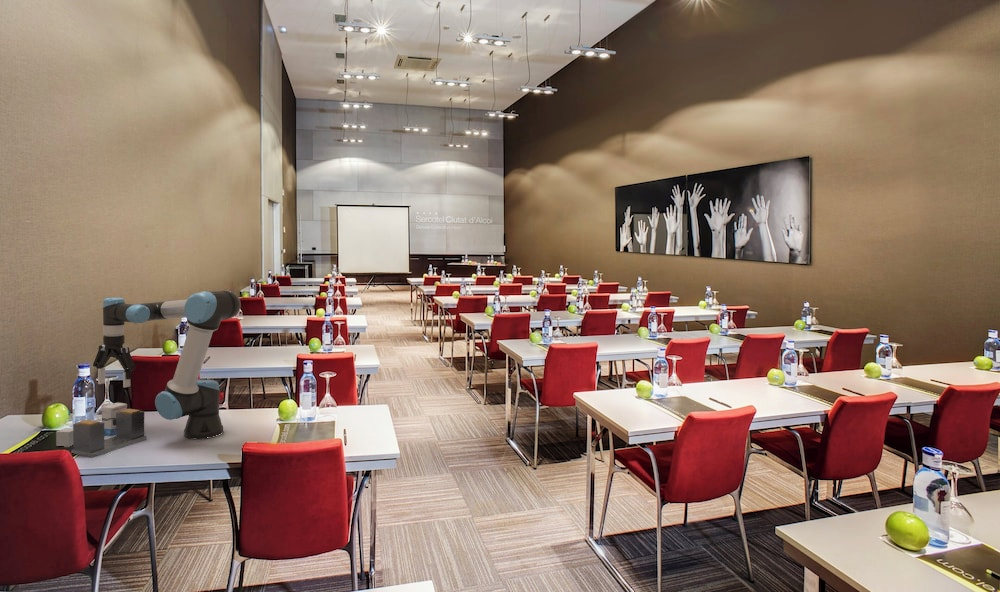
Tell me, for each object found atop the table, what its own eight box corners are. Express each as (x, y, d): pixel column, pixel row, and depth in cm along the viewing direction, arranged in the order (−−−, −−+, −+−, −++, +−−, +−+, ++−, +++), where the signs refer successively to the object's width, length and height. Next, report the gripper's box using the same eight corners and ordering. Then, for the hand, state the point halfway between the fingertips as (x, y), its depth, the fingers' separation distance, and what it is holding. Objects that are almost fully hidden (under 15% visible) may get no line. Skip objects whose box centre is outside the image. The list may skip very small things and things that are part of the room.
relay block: (78, 443, 243) (78, 428, 243) (69, 447, 238) (68, 432, 238) (65, 442, 244) (65, 427, 243) (56, 446, 239) (56, 431, 238)
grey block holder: (146, 439, 251) (146, 410, 250) (91, 457, 228) (91, 425, 227) (127, 436, 254) (127, 407, 253) (71, 453, 231) (71, 422, 230)
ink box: (111, 436, 254) (111, 407, 253) (101, 434, 255) (100, 406, 254) (127, 430, 262) (127, 403, 261) (117, 429, 263) (117, 402, 262)
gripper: (145, 336, 256) (145, 386, 257) (99, 331, 263) (99, 380, 264) (129, 338, 249) (129, 390, 250) (82, 333, 256) (83, 384, 257)
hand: (114, 385), depth 257 cm, fingers open, 13 cm apart
